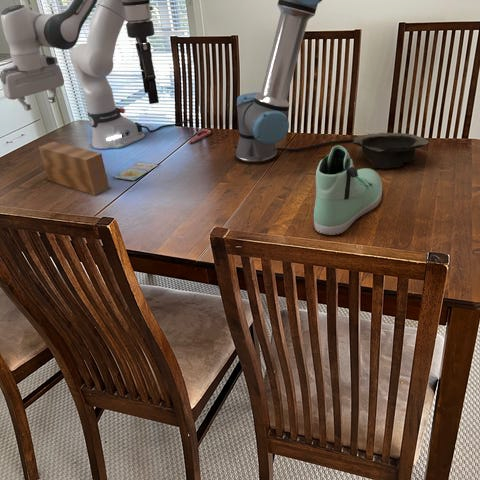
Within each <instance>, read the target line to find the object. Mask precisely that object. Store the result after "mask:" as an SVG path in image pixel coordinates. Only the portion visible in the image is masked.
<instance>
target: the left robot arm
mask: <svg viewBox="0 0 480 480" xmlns="http://www.w3.org/2000/svg"><path fill="white" fill-rule="evenodd" d="M93 10H94V12H93V14H92V16H91V19H90V21H89V24H88V28H89V29H88V35H87V40H86V43H79V44H77V43H78V40H79V37H80V34H81V30H82V28H83V26H84V24H85V22H86V20H87V19H88V18H89V17H90V14H91V13H92V11H93ZM0 22H1V27H2V31H3V34H4V38H5V41H6V42H7V45H8V47H9V54H10V58H11V61H12V64H13V65H12V66H10V67H5V68H2V69H1V71H0V81H1V84H2V90H3V94H4V97H5V98H6V99H8V100H11V101H12V100H13V101H14V100H17V102H19V103H20V105H22V107H23V109H24V111H26V112H27V111H28V112H29V111H31V110H32V107H31V103H30V104H29V103H27V102H26V97H28V96H32V95H35V94H39V93H43V92H46V91H49V92H50V94H49V96H48V97H47V100H48V102H49V103H50V104H54V103H56V102H57V100H56V95H57V88H60V87H63V86H64V84H65V78H64V75H63V72H62V69H61V67H60V66H59V65H58V58H57V57H56V56H49V55H47V54H42V53H41V50H40V47H44V48H45V47H46V48H54V49H59V50H64V51H67V50H70V49H71V51H70V55H69V56H70V58H69V59H70V61H71V64H72V66H73V67H74V71H75V74H76V76H77V79H78V82H79V85H80V87H81V90H82V92H83V96H84V100H85V104H86V109H87V118H88V122H89V125H90V127H91V128H90V129H91V137H92V138H91V140H92V141H91V147H92V148H94V149H98V150H107V149H121V148H122V149H123V148H124V147H127V146H128V145H131V144H132V143H135V142H137V141H139V140H141V139H143V138H145V137H146V135H145V133H144V131H143V129H146V130H147V131H148V132H149V133H154V132H156V131H159V130H161V129H163V128H168V127H175V126H180V125H181V126H182V125H183V124H184V123H186V122H189V123H192V120H191V119H185V120H183V121H181V122H178V123H171V124H164V125H161V126H158V127H157V128H155V129H152V130H151V129H150V127H148V126H146V125H142V124H141V123H139V122H138V121H137V122H134V121H133V120H131V119H129V118H127V117H125V116H123V115H122V114H125V112H126V109H125V108H124V107H123V108H122V107H117V106H116V103H115V97H114V94H113V89H112V86H111V85H110V83H109V81H108V78H107V76H110V74H111V73H112V71H113V69H114V55H115V50H116V44H117V41H118V38H119V36H120V33H121V30H122V28H123V26H124V23H125V22H126V21H125V18H124V12H123V6H122V0H70V3H69V4H68V5H67V7H66V8H65V9H64V11H61V12H59V13H55V14H45V13H44V14H43V13H41V12H37V11H35V10H32V9H30V8H28V7H27V6H25V5H24V4H17V5H16V4H15V5H12V6H8V7H6V8H4V9H3V10H2V11H1V13H0ZM76 44H77V45H76Z"/></svg>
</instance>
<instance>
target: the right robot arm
mask: <svg viewBox="0 0 480 480" xmlns="http://www.w3.org/2000/svg"><path fill="white" fill-rule="evenodd" d="M321 2H323V0H278V1H277V8H278V9H279V12H280V14H279V18H278V23H277V26H276V31H275V34H274V38H273V42H272V46H271V50H270V55H269V58H268V63H267V66H266V71H265V75H264V79H263V82H262V86H261V91H260V92H249V93H244V94H241V95H240V94H239V96H238V97H237V99H236V110H237V120H238V121H237V123H238V135H239V137H238V138H239V139H238V142H237V148H236V150H235V158H236V160H237V161H239V162H240V163H243V164H249V165H250V164H251V165H253V164H254V165H255V164H258V165H259V164H265V163H268V162H271V161H273V160H275V159H276V158H277V157H278V151H282V152H283V151H286V152H297V151H298V152H299V151H303V150H304V151H305V150H308V149H314V148H318V147H322V146H328V145H334V144H341V143H348V142H350V143H351V142H354V138H349V139H348V138H347V139H339V140H332V141H327V142H321V143H317V144H313V145H312V144H311V145H307V146H303V147H297V148H295V147H294V148H287V147H276V144H278V143H279V142H281V141H283V140H284V139H285V137H287V134H288V132H289V129H290V122H289V118H288V117H287V116H288V113H289V111H290V103H289V101H288V96H289V91H290V88H291V84H292V80H293V78H294V73H295V69H296V65H297V62H298V59H299V55H300V51H301V47H302V44H303V41H304V36H305V33H306V29H307V25H308V23H309V20H310V19H311V18H313V17H314V16H315V15H316V12H317V9H318V5H319V4H320V3H321ZM122 6H123V12H124V18H125V21H124V22H126V24H125V27H126V33H127V37H128V38H130V39H135V41H136V43H135V48H136V53H137V56H138V61H139V67H140V72H141V79H142V84H143V90H144V93H145V94H147V97H148V104H149V105H154V104H159V103H160V101H159V94H158V88H157V87H158V86H157V81H156V79H157V76H156V73H155V68H154V63H153V54H152V45H151V42H150V41H148V39H147V37H153V36H154V35H155V28H154V21H152V18H153V16H152V11H153V10H154V7H153V6H151V2H150V0H122Z"/></svg>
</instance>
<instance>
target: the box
mask: <svg viewBox="0 0 480 480" xmlns="http://www.w3.org/2000/svg"><path fill="white" fill-rule="evenodd" d="M38 150H39V153H40V157H41V160H42V163H43V167H44V171H45V173H46V176H47V180H48V181H49V182H53V183H56V184H59V185H62V186H65V187H68V188H71V189H74V190H77V191H81V192H83V193H86V194H89V195H93V196H98V195H99V194H101V193H103V192H105V191H108V190H109V189H110V185H109V180H108V175H107V171H106V168H105V163H104V159H103V154H102V153H101V152H97V151H93V150H89V149H85V148H81V147H77V146H73V145H69V144H65V143H62V142H59V141H58V142H57V141H54V140H53V141H51V142H49V143H45V144H43V145H40V146H38Z"/></svg>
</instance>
